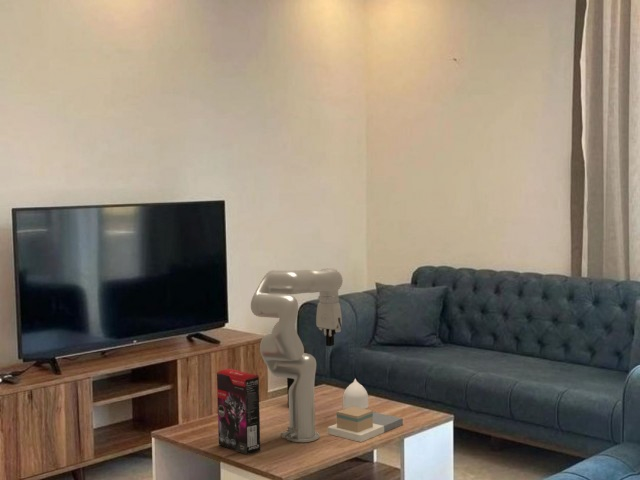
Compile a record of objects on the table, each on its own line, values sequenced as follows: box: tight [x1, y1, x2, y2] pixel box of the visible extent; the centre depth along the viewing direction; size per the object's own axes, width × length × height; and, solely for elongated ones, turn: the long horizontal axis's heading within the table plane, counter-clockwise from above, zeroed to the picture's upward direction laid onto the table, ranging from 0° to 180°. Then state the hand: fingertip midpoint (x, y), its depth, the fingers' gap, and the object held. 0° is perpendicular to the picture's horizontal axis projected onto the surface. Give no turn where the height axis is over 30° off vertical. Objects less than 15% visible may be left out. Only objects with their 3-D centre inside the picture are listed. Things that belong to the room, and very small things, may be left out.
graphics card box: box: [216, 368, 261, 455], centre depth 283 cm, size 17×7×27 cm, turn 45°
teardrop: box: [342, 378, 370, 409], centre depth 334 cm, size 11×11×12 cm
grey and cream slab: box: [326, 411, 404, 443], centre depth 303 cm, size 26×16×2 cm, turn 139°
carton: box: [336, 406, 374, 432], centre depth 298 cm, size 9×10×6 cm
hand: (330, 345), depth 317 cm, fingers closed
